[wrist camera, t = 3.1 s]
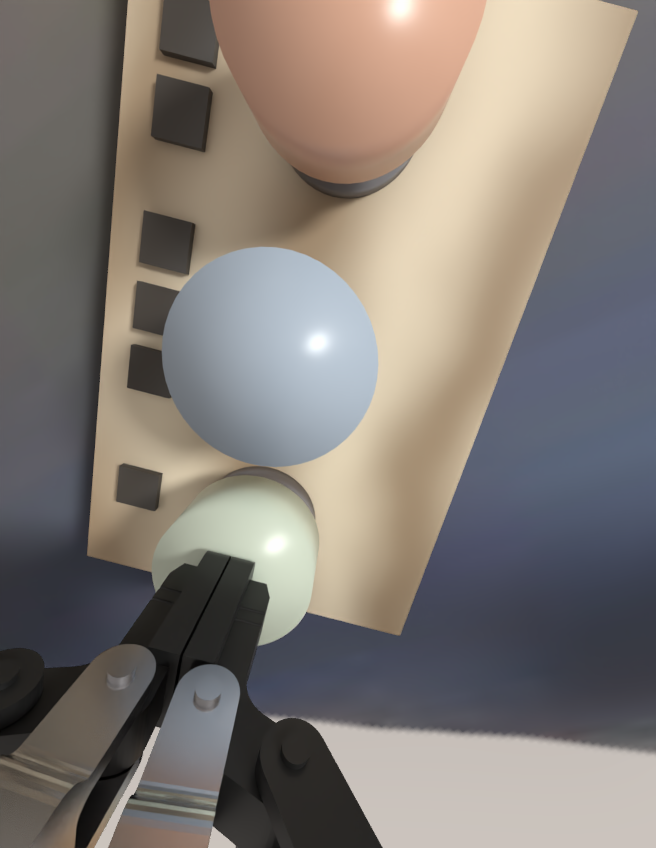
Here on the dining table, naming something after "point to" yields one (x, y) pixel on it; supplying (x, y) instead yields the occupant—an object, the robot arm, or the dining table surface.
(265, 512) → the pale green button
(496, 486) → the dining table surface
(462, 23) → the two dot button
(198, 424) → the three dot button
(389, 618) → the button board
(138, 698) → the robot arm
